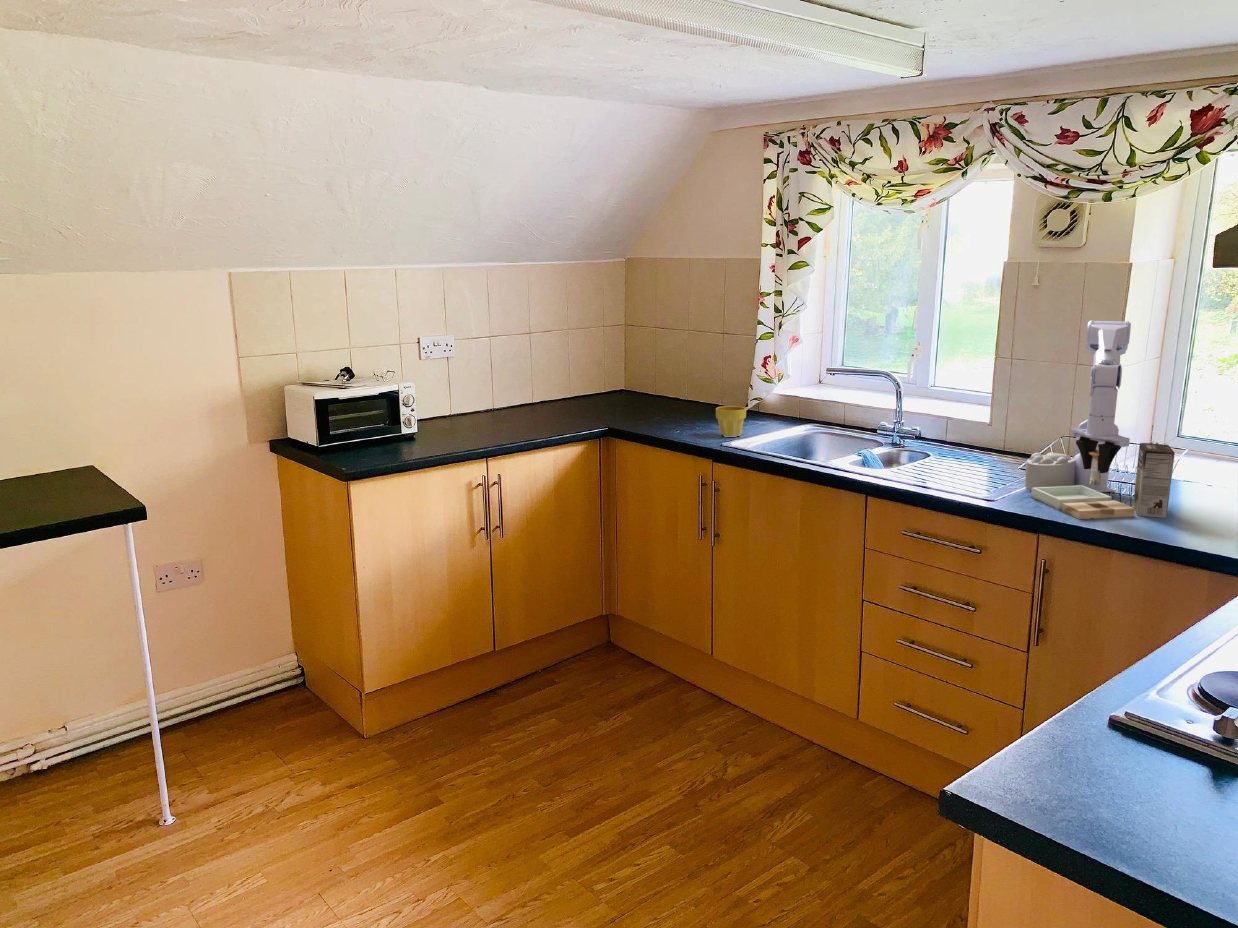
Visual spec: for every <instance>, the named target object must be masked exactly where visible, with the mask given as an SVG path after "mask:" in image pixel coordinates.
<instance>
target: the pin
mask: <svg viewBox="0 0 1238 928" xmlns="http://www.w3.org/2000/svg"><path fill="white" fill-rule="evenodd" d="M1088 454H1089V455H1092V459H1091V470H1090V482H1089V484H1091V485H1100V484H1101V473H1100V471H1099V466H1100V453H1099V450H1089V451H1088Z"/></svg>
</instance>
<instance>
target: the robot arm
mask: <svg viewBox="0 0 1238 928" xmlns="http://www.w3.org/2000/svg"><path fill="white" fill-rule="evenodd" d="M1131 327H1132V323H1131V322H1130V321H1129V320H1126V321H1119V320H1118V321H1117V320H1116V321H1112V320H1092V319H1091V320H1089V321H1088V322H1087V330H1086V341H1085V343H1086V345H1085V346H1086V347H1085V349H1086V353H1088V354H1090V355H1092V356H1093V364H1092V366H1091V368H1090V376H1089V396H1090V397H1089V403H1088V413H1087V419H1086V420H1083V421H1082V422H1081V423H1079V425H1078V427H1072V428H1070V435H1069V436H1070V437H1072V438H1073V437H1074V438H1075V437H1076V441H1075V451H1074V452H1075V453H1076V454H1075V456H1073V459H1075V460H1076V466H1075V485H1074V486H1076V485H1083V486H1085V487H1088V488H1090V489H1093V490H1095V491H1098V492H1100V493H1113V492H1114V493H1115V492H1116V490H1115V489H1113V488H1111V487H1109V486H1108V485H1109V479H1110V478H1109V475H1110V467H1111V465H1112V463H1113V460H1114V459H1115V457H1116V456H1117V454H1118V452H1119V451H1120V450H1121V449H1122V448H1124V447H1125V448H1126V447H1130V441H1131V440H1130V437H1125V436H1122V435H1120V434H1119V433H1120V432H1119V431H1120V429H1119V427H1118V425H1117V424H1115V420H1116V411H1117V403H1118V393H1119V392H1118V391H1119V390H1120V388H1121V385H1122V378H1123V367H1122V363H1121V356H1122V355H1124V354H1125V355H1126V352H1127V351H1128V347H1129V343H1130V339H1131V338H1130V337H1131V329H1132V328H1131ZM1089 450H1099V453H1100V466H1099V471H1100V473H1101V484H1100V485H1091V484H1089V482H1090V470H1091V459H1092V455H1089V454H1088V451H1089Z"/></svg>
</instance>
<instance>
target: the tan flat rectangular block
mask: <svg viewBox="0 0 1238 928" xmlns="http://www.w3.org/2000/svg"><path fill="white" fill-rule="evenodd" d="M1061 512H1063V513H1065V514H1067V515H1069V516H1071V517H1074V518H1076V519H1078V520H1087V519H1088V520H1090V518H1094V519H1108V518H1107V517H1113V518H1129V517H1134V516H1135V512H1136V511H1135V508H1134V507H1133V506H1130V505H1128V504H1126V503H1123V502H1121V501H1119V500H1118V501H1117V500H1112V501H1099V502H1079V503H1063V505H1062V509H1061Z"/></svg>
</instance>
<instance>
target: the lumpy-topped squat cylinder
mask: <svg viewBox="0 0 1238 928" xmlns="http://www.w3.org/2000/svg"><path fill="white" fill-rule="evenodd" d="M1073 458H1074V457H1073ZM1073 458H1071V457H1070V456H1069V455H1067V454H1065V453H1057V452H1052V451H1051V452H1047V453H1046V454H1042V453H1040V452H1034V453H1032V454H1031V456H1030V457H1029V458H1027V460H1026V461H1025V462H1026V463H1025V477H1024V478H1025V479H1024V480H1025V482H1024V487H1026V488H1025V489H1026V490H1029V491H1031V489H1032V488H1035V487H1056V486H1074V485H1075V466H1076V460H1075V459H1073Z"/></svg>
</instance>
